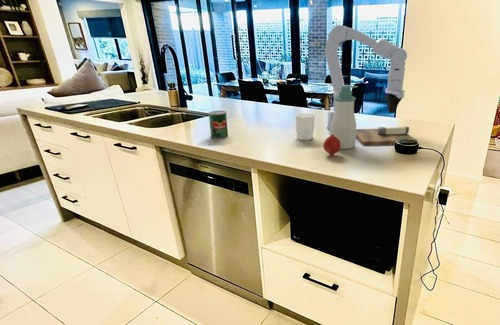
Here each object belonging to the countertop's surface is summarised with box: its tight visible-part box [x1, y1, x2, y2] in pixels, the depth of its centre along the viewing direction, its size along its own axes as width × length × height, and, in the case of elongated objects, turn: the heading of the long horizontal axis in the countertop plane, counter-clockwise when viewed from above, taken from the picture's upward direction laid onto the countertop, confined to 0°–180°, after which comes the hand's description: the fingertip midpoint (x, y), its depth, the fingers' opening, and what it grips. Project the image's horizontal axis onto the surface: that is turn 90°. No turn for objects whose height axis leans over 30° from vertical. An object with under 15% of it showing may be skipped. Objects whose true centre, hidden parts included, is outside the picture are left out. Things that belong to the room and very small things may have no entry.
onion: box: [323, 134, 341, 156], centre depth 106 cm, size 6×6×8 cm
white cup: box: [295, 112, 316, 141], centre depth 126 cm, size 8×8×10 cm
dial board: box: [356, 128, 418, 146], centre depth 123 cm, size 20×18×2 cm
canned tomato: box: [208, 110, 229, 139], centre depth 135 cm, size 8×8×11 cm
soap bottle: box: [328, 84, 358, 150], centre depth 112 cm, size 10×10×23 cm
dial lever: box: [377, 125, 410, 135], centre depth 122 cm, size 12×3×3 cm, turn 87°
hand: (391, 112), depth 127 cm, fingers closed
